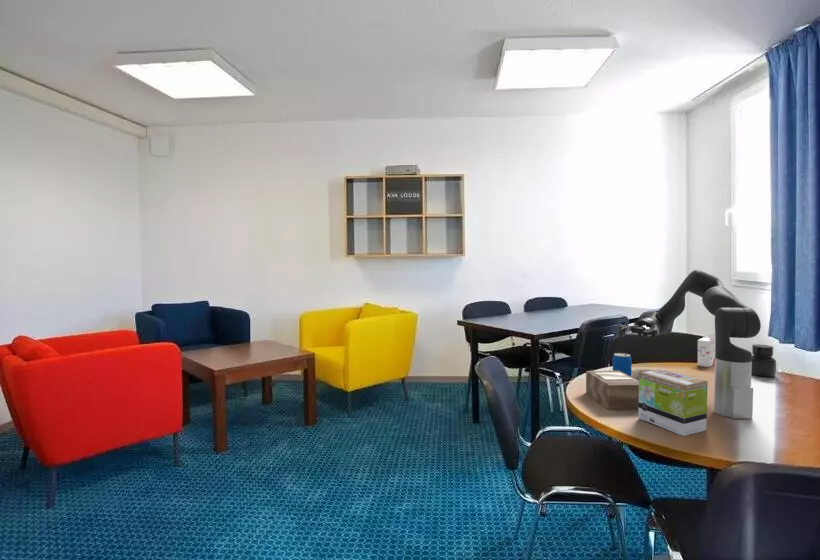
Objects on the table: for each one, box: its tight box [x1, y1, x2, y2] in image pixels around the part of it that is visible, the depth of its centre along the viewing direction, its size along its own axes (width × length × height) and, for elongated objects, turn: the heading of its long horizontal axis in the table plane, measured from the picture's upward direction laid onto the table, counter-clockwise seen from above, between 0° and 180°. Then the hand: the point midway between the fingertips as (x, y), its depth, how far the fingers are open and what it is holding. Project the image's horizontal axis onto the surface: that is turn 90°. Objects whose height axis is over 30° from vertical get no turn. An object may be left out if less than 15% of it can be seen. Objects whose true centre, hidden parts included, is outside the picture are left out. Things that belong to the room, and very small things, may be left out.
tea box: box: [637, 368, 709, 437], centre depth 134 cm, size 15×10×15 cm
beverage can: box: [612, 352, 632, 377], centre depth 174 cm, size 6×6×12 cm
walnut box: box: [585, 370, 639, 410], centre depth 157 cm, size 18×12×8 cm, turn 1°
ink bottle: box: [751, 343, 777, 378], centre depth 187 cm, size 10×9×12 cm
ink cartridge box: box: [697, 331, 716, 368], centre depth 205 cm, size 9×5×15 cm, turn 132°
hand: (632, 332), depth 181 cm, fingers open, 8 cm apart
